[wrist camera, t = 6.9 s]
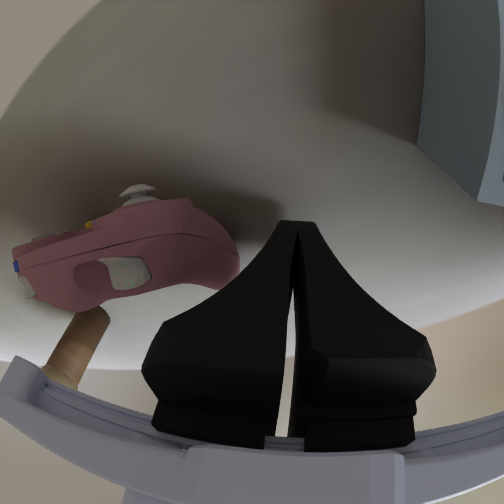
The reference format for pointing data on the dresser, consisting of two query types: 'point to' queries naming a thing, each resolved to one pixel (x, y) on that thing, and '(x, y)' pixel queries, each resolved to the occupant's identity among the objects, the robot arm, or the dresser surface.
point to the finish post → (76, 347)
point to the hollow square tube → (465, 94)
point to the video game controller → (128, 254)
